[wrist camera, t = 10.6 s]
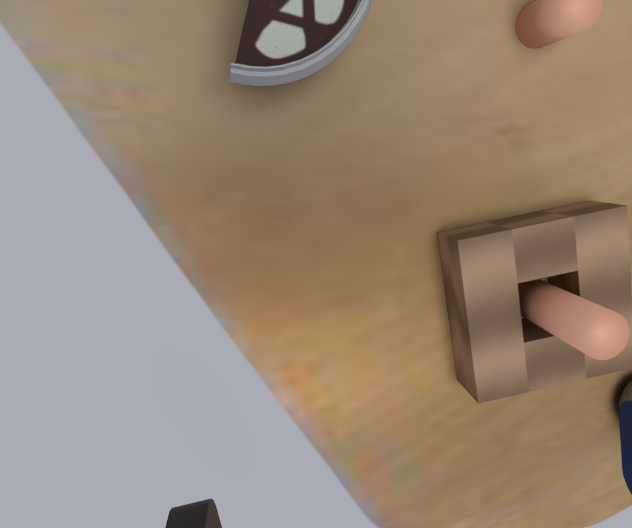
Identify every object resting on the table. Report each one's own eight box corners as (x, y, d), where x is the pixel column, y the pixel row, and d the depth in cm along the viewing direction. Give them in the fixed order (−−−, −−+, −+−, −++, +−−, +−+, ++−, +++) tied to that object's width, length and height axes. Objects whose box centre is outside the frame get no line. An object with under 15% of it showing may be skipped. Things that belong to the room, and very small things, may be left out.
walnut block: (437, 232, 38) (457, 240, 34) (589, 200, 39) (626, 205, 35) (457, 379, 41) (478, 403, 37) (599, 347, 41) (635, 367, 37)
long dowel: (499, 278, 39) (579, 317, 29) (537, 269, 39) (628, 306, 30) (503, 314, 40) (583, 365, 30) (540, 306, 40) (631, 354, 30)
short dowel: (513, 6, 35) (554, -19, 30) (554, -2, 36) (601, -27, 31) (517, 51, 36) (558, 35, 31) (558, 44, 36) (605, 26, 31)
